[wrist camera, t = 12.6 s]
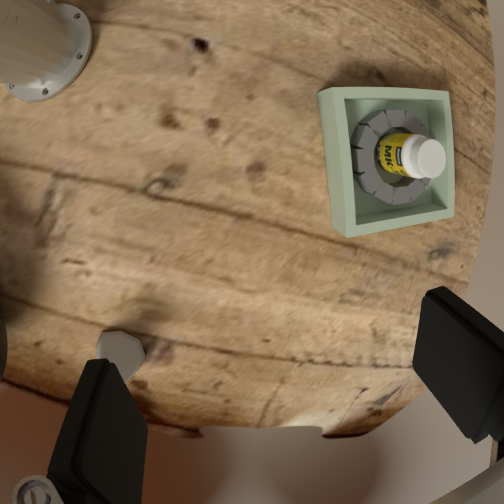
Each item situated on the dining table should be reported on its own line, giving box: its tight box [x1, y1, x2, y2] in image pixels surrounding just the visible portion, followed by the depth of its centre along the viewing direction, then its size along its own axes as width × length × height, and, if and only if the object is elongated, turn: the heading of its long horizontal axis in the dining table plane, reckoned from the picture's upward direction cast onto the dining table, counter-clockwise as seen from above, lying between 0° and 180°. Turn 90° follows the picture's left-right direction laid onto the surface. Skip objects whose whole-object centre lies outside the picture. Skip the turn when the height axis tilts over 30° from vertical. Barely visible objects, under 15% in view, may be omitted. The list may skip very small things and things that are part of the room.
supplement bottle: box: [374, 133, 446, 178], centre depth 31 cm, size 5×5×8 cm
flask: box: [96, 331, 146, 383], centre depth 36 cm, size 7×7×10 cm
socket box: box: [317, 87, 455, 238], centre depth 34 cm, size 16×16×4 cm
